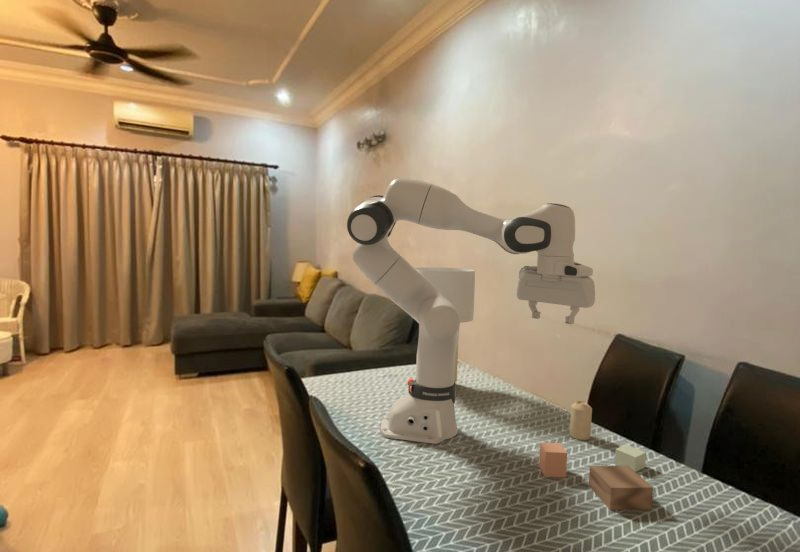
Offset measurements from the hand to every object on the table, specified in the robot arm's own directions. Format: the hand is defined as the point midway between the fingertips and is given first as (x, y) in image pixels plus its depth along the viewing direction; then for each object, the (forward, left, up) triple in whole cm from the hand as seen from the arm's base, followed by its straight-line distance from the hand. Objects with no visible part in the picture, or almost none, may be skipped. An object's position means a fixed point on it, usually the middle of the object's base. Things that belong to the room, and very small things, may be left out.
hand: (552, 320), depth 116 cm
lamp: (-25, +51, -35) cm, 67 cm away
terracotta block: (-1, -11, -35) cm, 37 cm away
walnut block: (+10, -21, -35) cm, 42 cm away
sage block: (+19, -6, -35) cm, 40 cm away
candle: (+13, +10, -35) cm, 39 cm away
